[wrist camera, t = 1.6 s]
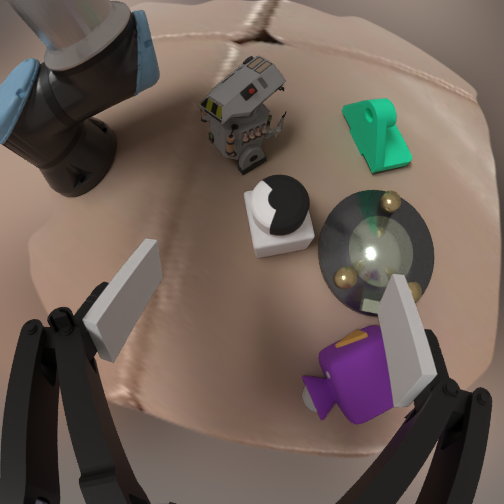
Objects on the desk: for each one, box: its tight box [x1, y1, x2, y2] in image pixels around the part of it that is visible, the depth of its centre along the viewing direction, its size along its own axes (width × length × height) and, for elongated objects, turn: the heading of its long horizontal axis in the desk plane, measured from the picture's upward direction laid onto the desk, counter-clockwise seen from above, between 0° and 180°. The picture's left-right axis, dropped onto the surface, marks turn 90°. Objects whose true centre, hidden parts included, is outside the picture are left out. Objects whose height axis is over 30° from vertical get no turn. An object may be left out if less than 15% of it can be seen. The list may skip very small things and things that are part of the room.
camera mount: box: [342, 98, 412, 173], centre depth 37 cm, size 12×8×10 cm, turn 16°
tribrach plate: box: [318, 190, 434, 316], centre depth 37 cm, size 18×18×4 cm
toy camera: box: [302, 325, 394, 424], centre depth 32 cm, size 11×14×10 cm
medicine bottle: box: [244, 175, 315, 258], centre depth 35 cm, size 7×7×12 cm
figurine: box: [199, 56, 286, 175], centre depth 36 cm, size 9×12×15 cm
